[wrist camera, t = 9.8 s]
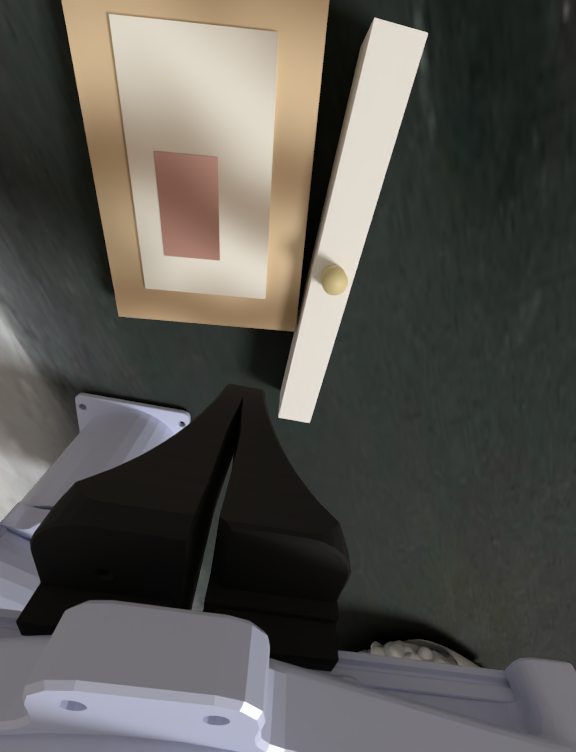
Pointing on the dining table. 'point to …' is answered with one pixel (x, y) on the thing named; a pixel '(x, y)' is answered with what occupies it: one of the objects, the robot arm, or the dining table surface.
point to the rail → (350, 204)
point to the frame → (201, 150)
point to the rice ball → (419, 652)
